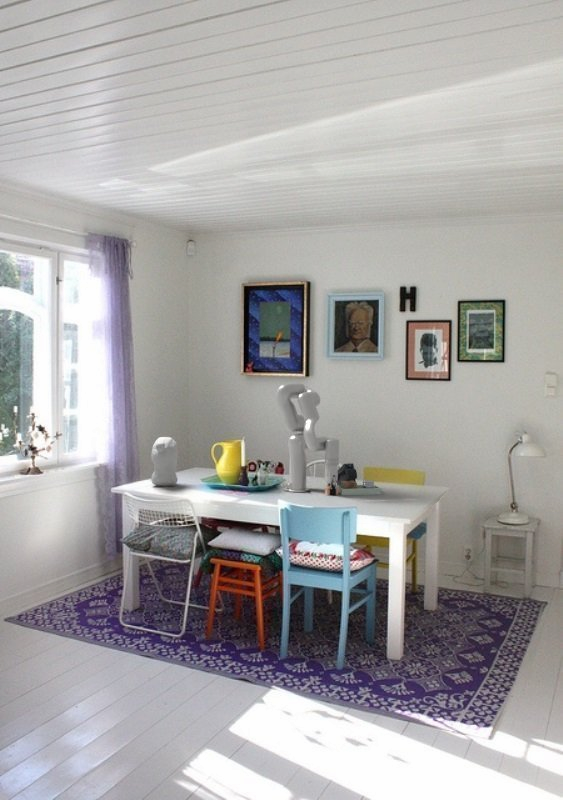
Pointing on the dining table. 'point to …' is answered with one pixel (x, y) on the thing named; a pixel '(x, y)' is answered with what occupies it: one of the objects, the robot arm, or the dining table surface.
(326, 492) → the terracotta box
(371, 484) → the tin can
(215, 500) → the dining table surface
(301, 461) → the robot arm
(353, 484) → the walnut block
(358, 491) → the pale green flat tray
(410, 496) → the dining table surface
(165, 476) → the bust
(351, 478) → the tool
